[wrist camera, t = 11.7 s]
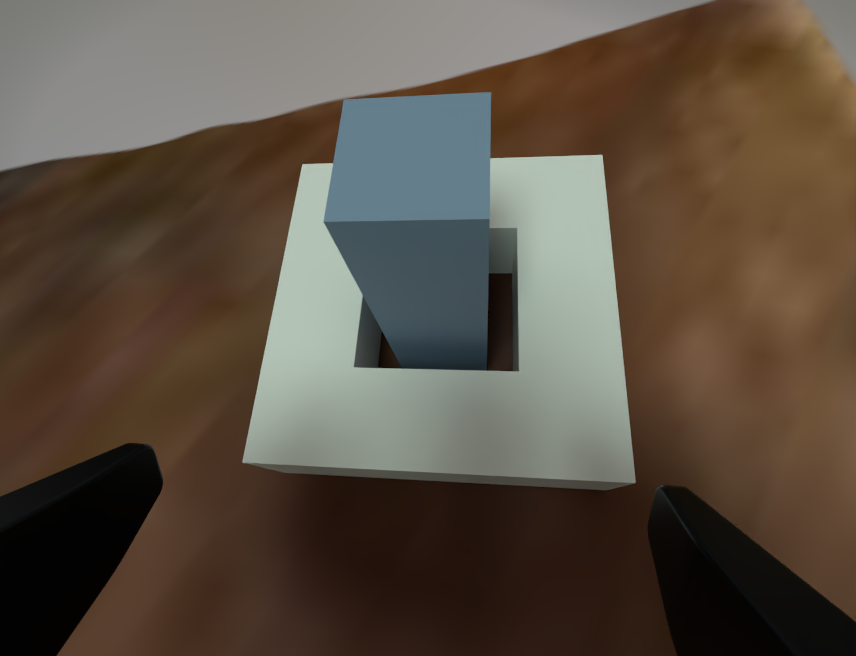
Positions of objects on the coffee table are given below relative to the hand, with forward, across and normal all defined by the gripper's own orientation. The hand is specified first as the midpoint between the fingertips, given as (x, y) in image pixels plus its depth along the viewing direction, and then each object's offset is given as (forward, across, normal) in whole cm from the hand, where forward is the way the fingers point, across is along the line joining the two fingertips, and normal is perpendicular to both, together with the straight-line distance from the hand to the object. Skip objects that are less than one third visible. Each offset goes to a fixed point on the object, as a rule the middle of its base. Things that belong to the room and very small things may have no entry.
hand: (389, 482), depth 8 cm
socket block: (+14, 0, +3) cm, 15 cm away
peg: (+14, 0, +3) cm, 15 cm away
